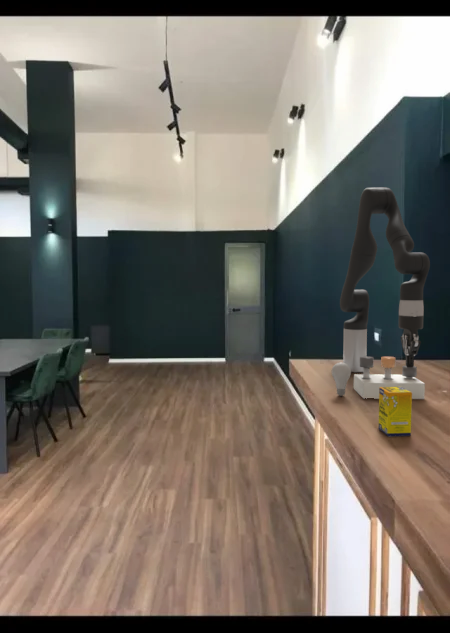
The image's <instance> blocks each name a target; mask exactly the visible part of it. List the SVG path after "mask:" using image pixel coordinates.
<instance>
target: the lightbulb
mask: <svg viewBox="0 0 450 633" xmlns="http://www.w3.org/2000/svg"><path fill="white" fill-rule="evenodd" d="M351 375H352V372H351V369H350V367H349V366H348V365H347V364H345V363H343V361H342V362H340V361H339V362H336V363H335V364H334V365H333V366H332V368H331V376H332V378H333V380H334V382H335V389H336V394H337V396H339V397H343V396H344V395H346V388H347V383H348V380H350V377H351Z"/></svg>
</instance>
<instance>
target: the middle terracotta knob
mask: <svg viewBox="0 0 450 633" xmlns="http://www.w3.org/2000/svg"><path fill="white" fill-rule="evenodd" d="M380 358H381V359H380V367H381V368H384V374H385V380H391V374H392V368H396V356H395V357H394V356H381V357H380Z"/></svg>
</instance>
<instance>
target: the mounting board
mask: <svg viewBox="0 0 450 633" xmlns="http://www.w3.org/2000/svg"><path fill="white" fill-rule="evenodd" d="M425 386H426V383H425V382H423V381H422V380H420V379H418V378H416V377H413V380H406V377H405V376H402V373H401V374H392V373H391V380H385V373H383V374H382V373H381V374H378V373H377V374H376V373H374V374H372V373H371V374H370V375H369V379H363V373H361V374H360V373H359V374H358V373H357V374H356V373H355V374H353V390H355V392H356V393H357V394H358V395H359V396H360V397H362V399H365V398H366V399H367V398H374V399H375V400H376V399H377V400H379V387H402V388H404V389H406V390H408V391H410V392H412V400H425V390H426V389H425ZM367 400H368V399H367Z"/></svg>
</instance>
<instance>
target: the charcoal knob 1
mask: <svg viewBox="0 0 450 633" xmlns="http://www.w3.org/2000/svg"><path fill="white" fill-rule="evenodd" d="M374 362H375V358H374V356H367V355H366V356H362V357H360V367H363V372H362V374H363V379H369V375H370V370H371V368H374Z"/></svg>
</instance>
